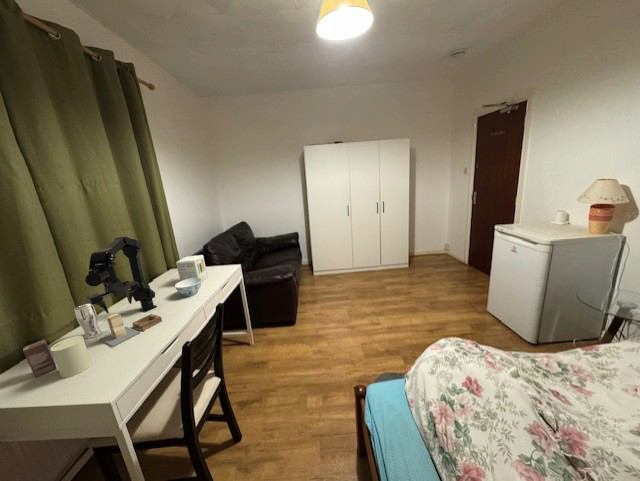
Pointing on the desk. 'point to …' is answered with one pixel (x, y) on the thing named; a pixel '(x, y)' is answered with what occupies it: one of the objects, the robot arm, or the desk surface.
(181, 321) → the desk surface
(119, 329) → the peg
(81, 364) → the can
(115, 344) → the rubber mat
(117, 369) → the desk surface
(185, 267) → the supplement box
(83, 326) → the beer glass
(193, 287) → the chinaware
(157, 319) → the collar
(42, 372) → the box
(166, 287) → the desk surface
